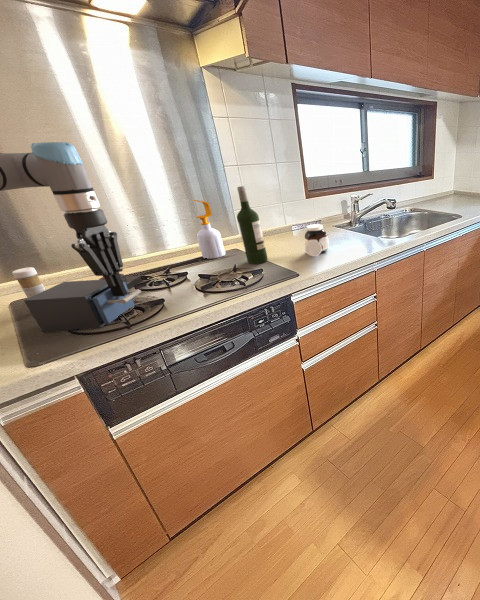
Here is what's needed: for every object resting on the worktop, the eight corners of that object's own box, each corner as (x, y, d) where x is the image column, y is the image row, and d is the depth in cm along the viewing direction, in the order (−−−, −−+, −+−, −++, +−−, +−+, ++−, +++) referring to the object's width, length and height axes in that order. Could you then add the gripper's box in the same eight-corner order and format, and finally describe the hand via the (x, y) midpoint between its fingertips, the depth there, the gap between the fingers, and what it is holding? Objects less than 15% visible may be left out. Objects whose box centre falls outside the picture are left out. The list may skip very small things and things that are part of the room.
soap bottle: (199, 257, 144) (181, 200, 133) (219, 251, 150) (203, 197, 140) (209, 260, 139) (192, 201, 128) (229, 255, 146) (214, 198, 135)
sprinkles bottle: (54, 305, 102) (32, 265, 96) (58, 309, 100) (35, 268, 94) (34, 311, 99) (9, 270, 93) (37, 315, 96) (12, 273, 90)
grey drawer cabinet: (129, 307, 100) (117, 278, 96) (100, 328, 89) (84, 296, 84) (79, 310, 99) (63, 281, 94) (42, 332, 87) (23, 300, 83)
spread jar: (325, 247, 152) (322, 222, 147) (334, 253, 144) (331, 227, 139) (300, 252, 146) (296, 226, 141) (308, 258, 138) (304, 231, 133)
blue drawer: (151, 303, 99) (142, 280, 96) (128, 322, 89) (116, 296, 86) (87, 308, 98) (75, 284, 94) (55, 327, 88) (41, 301, 84)
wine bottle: (268, 262, 135) (251, 187, 122) (247, 265, 132) (228, 188, 119) (267, 257, 141) (251, 185, 128) (248, 259, 139) (230, 186, 126)
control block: (87, 294, 109) (81, 283, 108) (107, 283, 118) (103, 273, 117) (124, 292, 110) (120, 281, 109) (142, 281, 119) (138, 271, 118)
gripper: (78, 214, 76) (119, 304, 86) (116, 205, 87) (148, 285, 98) (43, 216, 75) (89, 306, 85) (86, 206, 87) (122, 287, 97)
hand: (121, 295), depth 92 cm, fingers closed
